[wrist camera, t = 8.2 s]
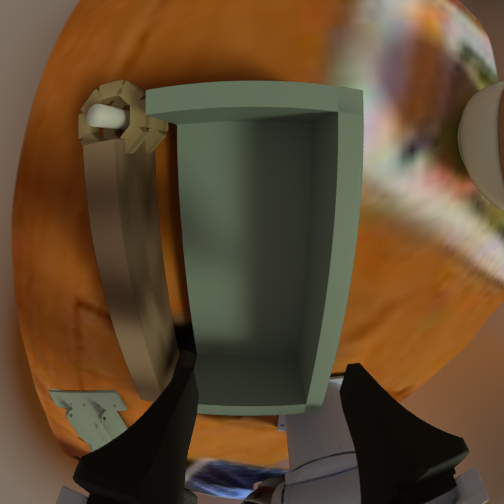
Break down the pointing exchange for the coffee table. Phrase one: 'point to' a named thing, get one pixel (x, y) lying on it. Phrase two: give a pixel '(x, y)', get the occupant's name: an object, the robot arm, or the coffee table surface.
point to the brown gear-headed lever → (130, 234)
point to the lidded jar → (484, 142)
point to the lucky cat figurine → (264, 491)
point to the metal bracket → (92, 414)
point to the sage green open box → (263, 233)
